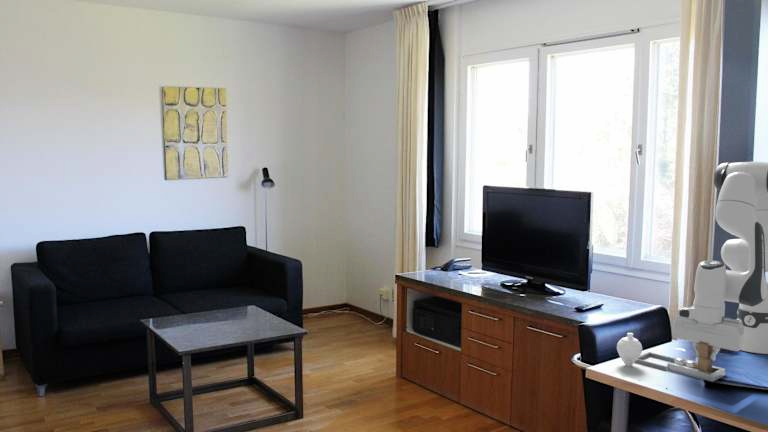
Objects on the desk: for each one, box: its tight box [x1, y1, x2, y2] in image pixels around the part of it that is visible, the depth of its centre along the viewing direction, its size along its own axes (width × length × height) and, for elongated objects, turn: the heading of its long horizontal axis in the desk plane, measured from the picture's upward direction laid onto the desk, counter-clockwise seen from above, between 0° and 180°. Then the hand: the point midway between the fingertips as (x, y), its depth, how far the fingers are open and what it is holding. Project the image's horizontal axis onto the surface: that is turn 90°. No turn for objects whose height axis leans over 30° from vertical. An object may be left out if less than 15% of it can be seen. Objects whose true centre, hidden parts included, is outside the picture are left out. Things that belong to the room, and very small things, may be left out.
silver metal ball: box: [685, 359, 698, 369], centre depth 212 cm, size 3×3×3 cm
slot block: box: [666, 358, 726, 383], centre depth 211 cm, size 9×14×4 cm, turn 42°
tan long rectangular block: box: [697, 341, 714, 373], centre depth 208 cm, size 4×2×10 cm, turn 132°
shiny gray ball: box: [673, 356, 687, 366], centre depth 214 cm, size 3×3×3 cm
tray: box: [634, 351, 676, 371], centre depth 220 cm, size 11×11×3 cm
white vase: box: [616, 332, 643, 367], centre depth 216 cm, size 8×8×12 cm
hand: (705, 358), depth 208 cm, fingers closed on tan long rectangular block, 2 cm apart
